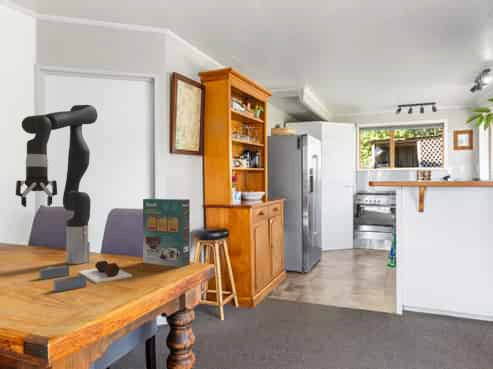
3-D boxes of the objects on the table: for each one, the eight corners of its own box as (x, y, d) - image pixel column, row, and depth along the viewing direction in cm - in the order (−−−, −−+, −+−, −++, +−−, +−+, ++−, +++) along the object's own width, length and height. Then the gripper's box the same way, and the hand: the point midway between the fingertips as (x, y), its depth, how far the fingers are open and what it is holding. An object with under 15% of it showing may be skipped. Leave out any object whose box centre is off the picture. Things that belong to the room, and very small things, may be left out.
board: (112, 267, 157) (112, 266, 157) (131, 276, 142) (131, 274, 142) (78, 273, 148) (78, 271, 148) (95, 283, 133) (95, 281, 133)
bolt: (100, 273, 151) (114, 279, 140) (90, 269, 148) (103, 275, 137) (107, 260, 153) (121, 265, 142) (96, 256, 150) (110, 260, 139)
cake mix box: (189, 264, 164) (189, 199, 164) (182, 267, 159) (182, 199, 159) (151, 260, 173) (151, 198, 173) (143, 262, 168) (143, 199, 168)
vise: (62, 271, 151) (62, 263, 151) (86, 286, 129) (86, 276, 129) (36, 275, 145) (36, 266, 145) (55, 292, 122) (55, 282, 122)
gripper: (54, 166, 151) (54, 205, 151) (14, 165, 141) (14, 206, 141) (59, 166, 145) (59, 206, 145) (17, 165, 135) (18, 207, 136)
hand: (37, 206), depth 143 cm, fingers open, 8 cm apart
